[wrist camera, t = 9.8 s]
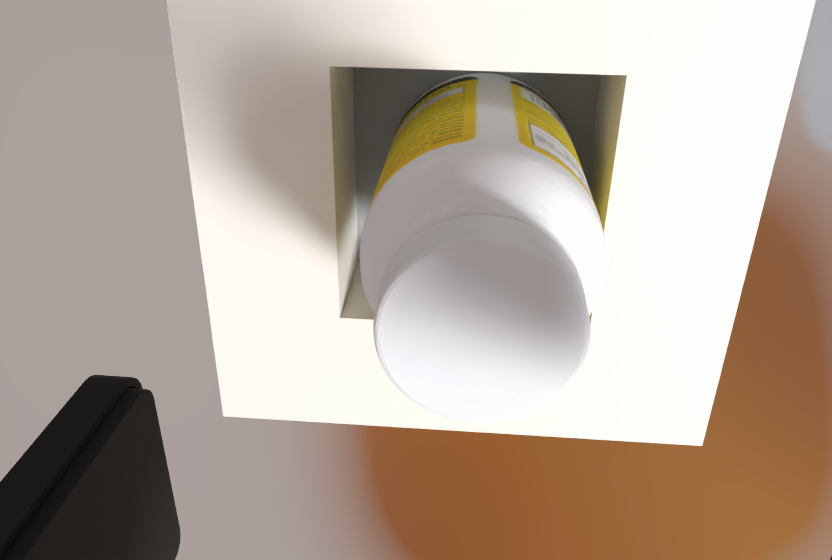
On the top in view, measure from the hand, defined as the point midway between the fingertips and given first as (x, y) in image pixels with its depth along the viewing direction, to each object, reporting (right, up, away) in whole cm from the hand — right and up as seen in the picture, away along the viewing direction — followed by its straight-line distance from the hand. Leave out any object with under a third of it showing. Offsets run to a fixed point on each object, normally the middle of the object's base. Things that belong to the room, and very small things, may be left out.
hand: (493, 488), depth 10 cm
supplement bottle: (+1, +6, +12) cm, 14 cm away
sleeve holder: (+1, +7, +13) cm, 15 cm away
